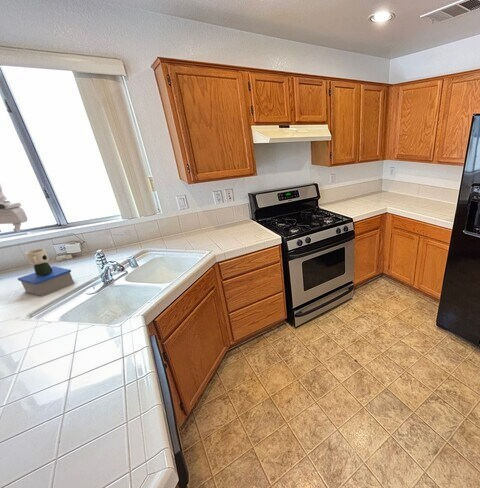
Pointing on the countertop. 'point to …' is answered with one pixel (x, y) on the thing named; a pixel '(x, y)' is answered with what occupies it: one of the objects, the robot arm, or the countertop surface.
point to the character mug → (39, 261)
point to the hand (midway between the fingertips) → (7, 232)
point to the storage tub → (47, 281)
